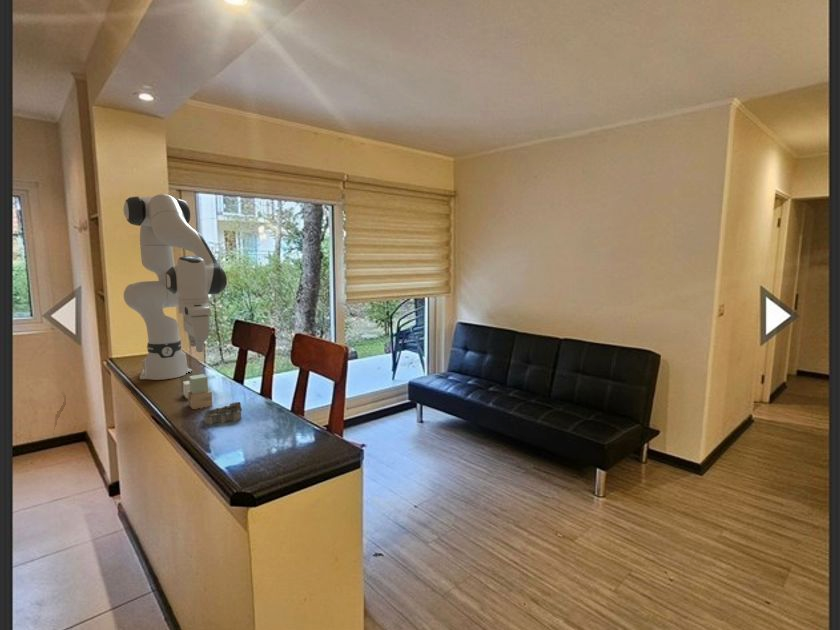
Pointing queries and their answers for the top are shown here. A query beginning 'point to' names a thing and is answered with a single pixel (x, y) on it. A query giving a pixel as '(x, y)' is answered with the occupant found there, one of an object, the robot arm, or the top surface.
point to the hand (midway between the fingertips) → (196, 348)
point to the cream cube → (186, 388)
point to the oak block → (199, 399)
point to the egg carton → (223, 413)
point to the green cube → (198, 384)
